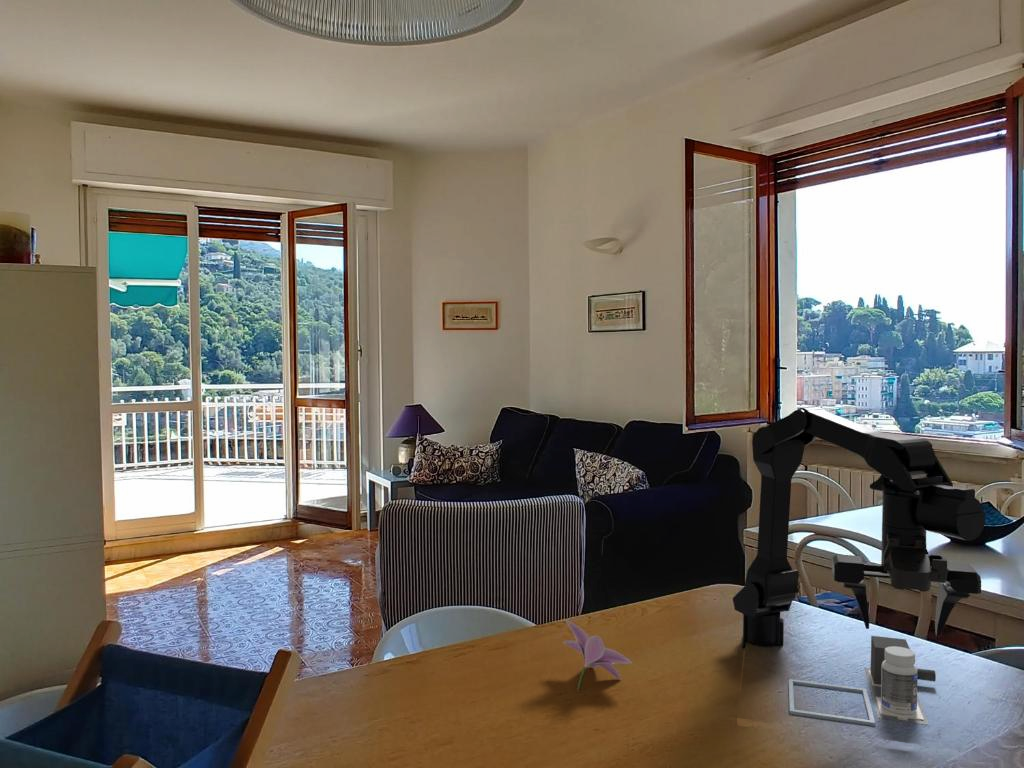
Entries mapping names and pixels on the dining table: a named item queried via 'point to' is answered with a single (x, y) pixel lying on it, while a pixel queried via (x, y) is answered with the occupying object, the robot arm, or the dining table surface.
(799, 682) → the grey square frame
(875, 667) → the grey block with peg
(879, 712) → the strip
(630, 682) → the dining table surface
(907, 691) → the pill bottle
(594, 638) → the lily
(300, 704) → the dining table surface
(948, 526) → the robot arm
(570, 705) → the dining table surface
